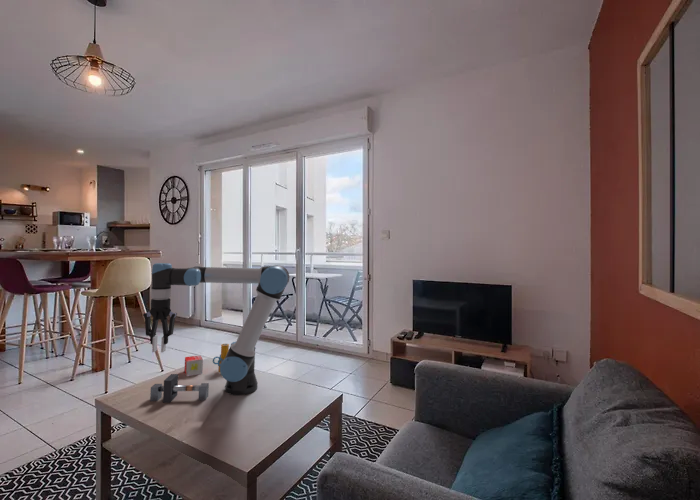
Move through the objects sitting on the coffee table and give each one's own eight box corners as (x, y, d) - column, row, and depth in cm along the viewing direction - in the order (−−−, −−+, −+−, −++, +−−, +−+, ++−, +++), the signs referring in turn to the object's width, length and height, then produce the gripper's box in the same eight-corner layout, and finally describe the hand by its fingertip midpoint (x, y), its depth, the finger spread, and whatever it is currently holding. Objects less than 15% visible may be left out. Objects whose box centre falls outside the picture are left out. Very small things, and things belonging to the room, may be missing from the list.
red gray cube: (186, 376, 174) (186, 361, 174) (184, 371, 181) (184, 357, 181) (202, 373, 179) (203, 359, 179) (200, 369, 185) (200, 355, 185)
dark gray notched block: (177, 394, 149) (178, 374, 149) (170, 402, 142) (171, 380, 142) (170, 394, 149) (171, 374, 149) (163, 402, 141) (163, 380, 141)
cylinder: (226, 376, 176) (227, 348, 176) (208, 374, 178) (210, 346, 178) (238, 368, 188) (239, 342, 188) (222, 366, 190) (223, 340, 190)
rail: (209, 397, 151) (209, 381, 151) (204, 405, 144) (204, 388, 144) (155, 398, 148) (156, 382, 148) (148, 406, 141) (149, 389, 141)
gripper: (183, 297, 149) (181, 348, 149) (145, 296, 147) (143, 348, 147) (176, 299, 142) (174, 354, 142) (137, 299, 140) (135, 354, 140)
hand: (158, 351), depth 145 cm, fingers open, 3 cm apart
